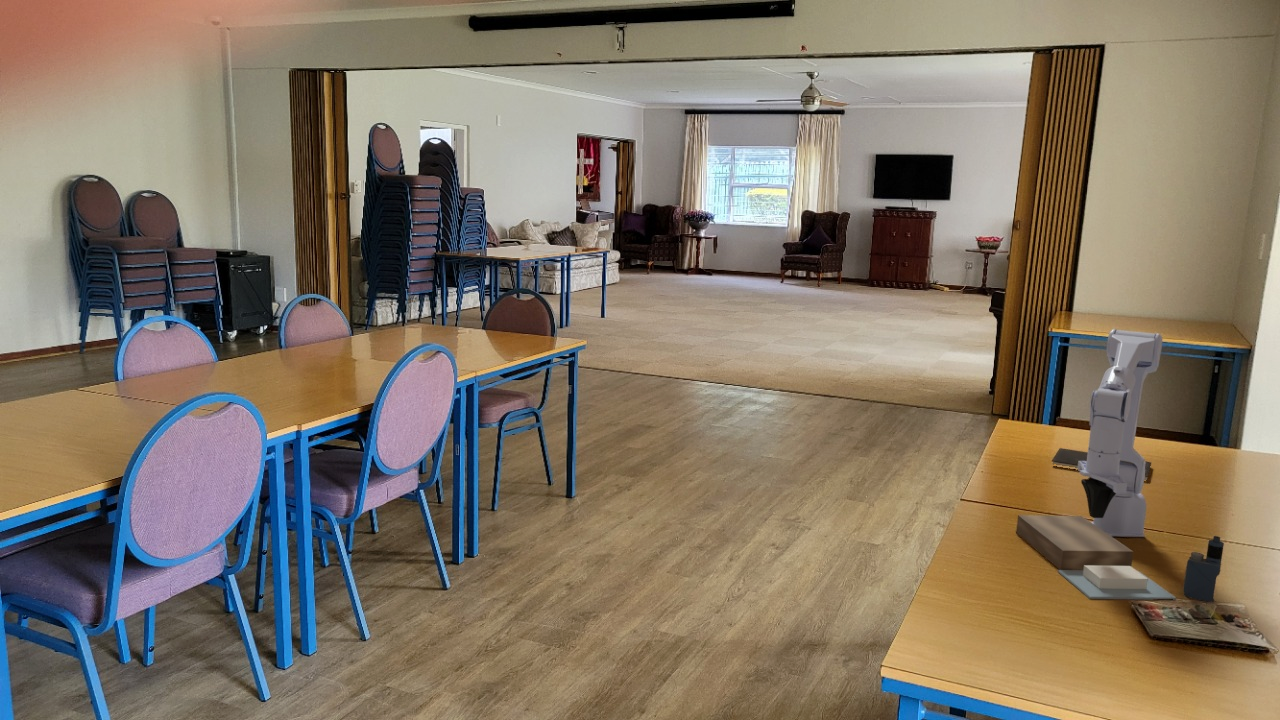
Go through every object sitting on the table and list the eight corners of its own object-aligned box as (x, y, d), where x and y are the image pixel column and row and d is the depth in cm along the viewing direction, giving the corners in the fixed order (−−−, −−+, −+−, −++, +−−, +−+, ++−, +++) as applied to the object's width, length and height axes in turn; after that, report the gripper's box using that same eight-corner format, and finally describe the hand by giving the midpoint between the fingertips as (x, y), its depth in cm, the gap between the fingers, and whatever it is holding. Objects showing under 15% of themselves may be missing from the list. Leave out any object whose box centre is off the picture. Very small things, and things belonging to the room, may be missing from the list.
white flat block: (1147, 578, 174) (1146, 588, 174) (1130, 565, 180) (1128, 575, 180) (1100, 578, 173) (1099, 588, 174) (1084, 565, 179) (1082, 575, 180)
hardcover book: (1146, 484, 242) (1147, 475, 242) (1050, 468, 254) (1051, 460, 253) (1150, 469, 256) (1151, 461, 255) (1059, 455, 267) (1060, 447, 267)
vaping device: (1215, 603, 170) (1225, 540, 167) (1182, 596, 172) (1191, 534, 170) (1215, 598, 172) (1225, 536, 170) (1182, 591, 174) (1191, 530, 172)
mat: (1138, 573, 183) (1138, 571, 182) (1175, 599, 171) (1176, 597, 171) (1058, 572, 182) (1058, 570, 182) (1089, 598, 170) (1089, 596, 170)
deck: (1079, 533, 203) (1081, 516, 202) (1130, 570, 183) (1133, 551, 183) (1016, 532, 202) (1018, 515, 202) (1060, 570, 183) (1062, 550, 182)
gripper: (1066, 439, 189) (1058, 504, 192) (1104, 460, 175) (1095, 529, 177) (1100, 440, 189) (1092, 504, 192) (1140, 461, 175) (1131, 530, 178)
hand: (1096, 516), depth 185 cm, fingers closed
